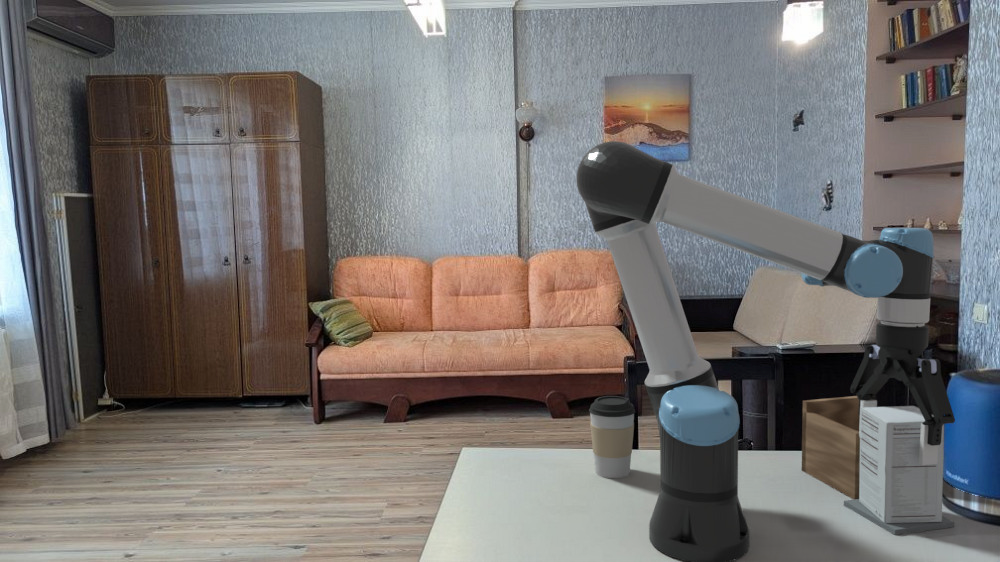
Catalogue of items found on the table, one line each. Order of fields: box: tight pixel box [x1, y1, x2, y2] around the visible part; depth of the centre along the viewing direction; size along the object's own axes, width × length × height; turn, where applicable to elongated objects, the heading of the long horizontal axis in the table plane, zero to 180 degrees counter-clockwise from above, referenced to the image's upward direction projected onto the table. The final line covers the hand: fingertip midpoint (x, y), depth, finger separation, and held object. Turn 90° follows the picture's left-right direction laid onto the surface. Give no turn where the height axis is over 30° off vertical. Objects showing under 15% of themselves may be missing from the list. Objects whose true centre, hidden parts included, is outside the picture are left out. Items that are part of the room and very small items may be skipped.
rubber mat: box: [843, 499, 955, 536], centre depth 122 cm, size 11×12×1 cm
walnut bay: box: [801, 395, 860, 500], centre depth 137 cm, size 14×15×14 cm
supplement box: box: [859, 405, 945, 523], centre depth 120 cm, size 10×9×17 cm
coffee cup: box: [588, 395, 636, 479], centre depth 144 cm, size 9×9×15 cm
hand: (895, 449), depth 121 cm, fingers open, 13 cm apart
